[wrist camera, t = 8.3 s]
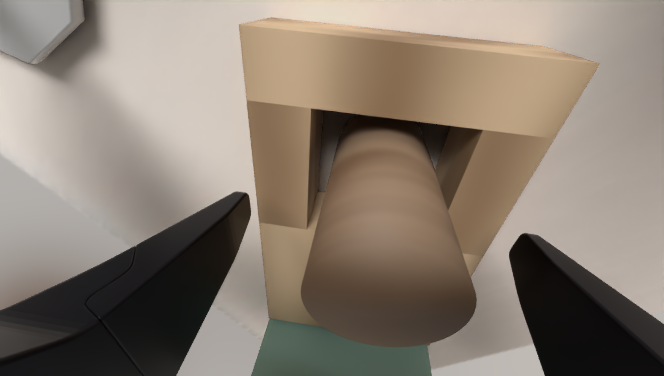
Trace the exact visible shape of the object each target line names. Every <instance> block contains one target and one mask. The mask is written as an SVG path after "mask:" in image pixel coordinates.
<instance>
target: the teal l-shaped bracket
mask: <svg viewBox="0 0 664 376" xmlns="http://www.w3.org/2000/svg"><path fill="white" fill-rule="evenodd" d="M251 376H432V375H431V368H430V361H429V354H428V348H427V345H419V346H411V347H381V346H374V345H368V344H363V343H359V342H355V341H352V340H349V339H346V338H343V337H341V336H339V335H337V334H335V333H333V332H331V331H329V330H327V329H326V328H324V327H318V326H312V325H307V324H301V323H295V322H289V321H283V320H278V319H272V318H270V320H269V323H268V326H267V329H266V332H265V335H264V338H263V341H262V344H261V347H260V350H259V353H258V357H257V359H256V363H255V366H254V369H253V372H252V375H251Z"/></svg>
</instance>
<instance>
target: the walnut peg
mask: <svg viewBox="0 0 664 376" xmlns="http://www.w3.org/2000/svg"><path fill="white" fill-rule="evenodd" d="M301 298H302V302H303V305H304V306H305V308H306V310H307V312H308V313H309V314H310V316H311V317H312V318H313V319H314V320H315V321H316V322H318V323H319V324H320V325H321V326H323V327H324V328H326V329H327V330H329V331H331V332H333V333H335V334H337V335H339V336H341V337H343V338H346V339H349V340H352V341H355V342H359V343H363V344H368V345H374V346H381V347H411V346H419V345H424V344H429V343H433V342H436V341H439V340H442V339H444V338H446V337H448V336H451V335H453V334H454V333H456V332H457V331H459V330H460V329H461V328H463V327H464V326H465V325H466V324H467V323H468V321H469V320H470V319H471V317H472V316H473V314H474V311H475V308H476V300H477V299H476V293H475V290H474V287H473V284H472V281H471V278H470V275H469V272H468V269H467V266H466V263H465V260H464V257H463V254H462V251H461V248H460V245H459V242H458V239H457V236H456V233H455V230H454V227H453V224H452V221H451V218H450V215H449V212H448V209H447V206H446V203H445V200H444V197H443V194H442V191H441V188H440V185H439V182H438V179H437V176H436V173H435V170H434V167H433V164H432V161H431V158H430V155H429V152H428V149H427V146H426V143H425V140H424V137H423V134H422V132H421V129H420V128H419V126H418V124H417V123H416V122H415V121H409V120H401V119H393V118H385V117H377V116H369V115H361V114H358V115H356V116H355V117H353V118H352V119H351V120H350V121H349V122H348V123H347V124H346V125H345V127H344V128H343V130H342V132H341V134H340V137H339V140H338V144H337V148H336V152H335V156H334V160H333V164H332V168H331V172H330V176H329V179H328V183H327V187H326V191H325V195H324V199H323V203H322V207H321V211H320V215H319V218H318V222H317V226H316V230H315V234H314V238H313V242H312V246H311V250H310V254H309V257H308V261H307V265H306V269H305V273H304V277H303V281H302V285H301Z"/></svg>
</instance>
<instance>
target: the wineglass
mask: <svg viewBox="0 0 664 376" xmlns="http://www.w3.org/2000/svg"><path fill="white" fill-rule="evenodd" d="M84 21H85V18H84V6H83V0H0V51H2V52H4V53H6V54H9V55H11V56H13V57H15V58H18V59H20V60H22V61H24V62H26V63H31V64H38V63H39V62H41V61H43V60H44V59H45V58H46V57H47V56H48V55H49V54H50V53H51V52H52V51H53V50H54V49H55V48H56V47H58V46H59V45H60V44H61V43H62V42H63V41H64V40H65V39H66V38H67V37H68V36H69V35H70V34H71V33H72V32H73V31H74V30H75V29H76V28H77V27H78V26H79V25H80V24H81V23H82V22H84Z"/></svg>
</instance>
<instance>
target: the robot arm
mask: <svg viewBox="0 0 664 376" xmlns="http://www.w3.org/2000/svg"><path fill="white" fill-rule="evenodd" d="M250 216H251V208H250V200H249V195H248V194H247V193H244V192H234V193H232V194H230V195H228V196H226V197H225V198H223V199H221V200H219V201H217V202H215V203H213V204H212V205H210V206H208V207H206V208H204V209H202V210H200V211H199V212H197V213H195V214H193V215H191V216H189V217H188V218H186V219H184V220H182V221H180V222H178V223H176V224H175V225H173V226H171V227H169V228H167V229H165V230H163V231H162V232H160V233H158V234H156V235H154V236H152V237H151V238H149V239H147V240H145V241H143V242H141V243H139V244H138V245H137V246H136V247H135V246H134V247H132V248H130V249H128V250H126V251H124V252H123V253H121V254H119V255H117V256H115V257H113V258H111V259H109V260H107V261H105V262H103V263H102V264H100V265H98V266H95V267H93V268H91V269H89V270H87V271H85V272H83V273H81V274H79V275H77V276H75V277H72V278H70V279H68V280H66V281H64V282H62V283H59V284H57V285H55V286H53V287H51V288H49V289H47V290H44V291H42V292H40V293H38V294H36V295H34V296H31V297H29V298H27V299H25V300H23V301H21V302H19V303H16V304H14V305H12V306H10V307H7V308H5V309H2V310H0V376H176V374H177V373H178V371H179V369H180V367H181V365H182V363H183V361H184V359H185V357H186V355H187V353H188V351H189V349H190V347H191V345H192V343H193V341H194V339H195V337H196V335H197V333H198V331H199V329H200V327H201V325H202V323H203V321H204V319H205V317H206V315H207V313H208V311H209V309H210V307H211V305H212V303H213V301H214V299H215V297H216V295H217V293H218V291H219V289H220V287H221V286H222V284H223V282H224V280H225V278H226V276H227V274H228V272H229V270H230V268H231V266H232V264H233V262H234V259H235V257H236V255H237V253H238V250H239V247H240V244H241V242H242V239H243V236H244V233H245V231H246V228H247V225H248V222H249V220H250ZM509 259H510V263H511V268H512V272H513V276H514V281H515V285H516V290H517V294H518V298H519V302H520V305H521V308H522V311H523V314H524V317H525V320H526V322H527V325H528V328H529V331H530V334H531V337H532V340H533V343H534V346H535V348H536V351H537V354H538V357H539V360H540V363H541V366H542V369H543V371H544V375H545V376H664V324H663V323H661V322H660V321H659V320H657V319H656V318H654V317H653V316H652V315H650V314H649V313H647V312H646V311H644V310H643V309H642V308H640V307H639V306H637V305H636V304H635V303H633V302H632V301H630V300H629V299H627V298H626V297H625V296H623V295H622V294H620V293H619V292H618V291H616V290H615V289H613V288H612V287H610V286H609V285H608V284H606V283H605V282H603V281H602V280H601V279H599V278H598V277H596V276H595V275H593V274H592V273H591V272H589V271H588V270H586V269H585V268H584V267H582V266H581V265H579V264H578V263H577V262H575V261H574V260H572V259H571V258H569V257H568V256H567V255H565V254H564V253H562V252H561V251H560V250H558V249H557V248H555V247H554V246H552V245H551V244H550V243H548V242H547V241H545V240H544V239H543V238H541V237H540V236H538V235H534V234H528V233H523V234H521V235H520V236H519V238H518V239H517V241H516V242H515V244H514V245H513V247H512V248H511V250H510V252H509Z"/></svg>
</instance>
